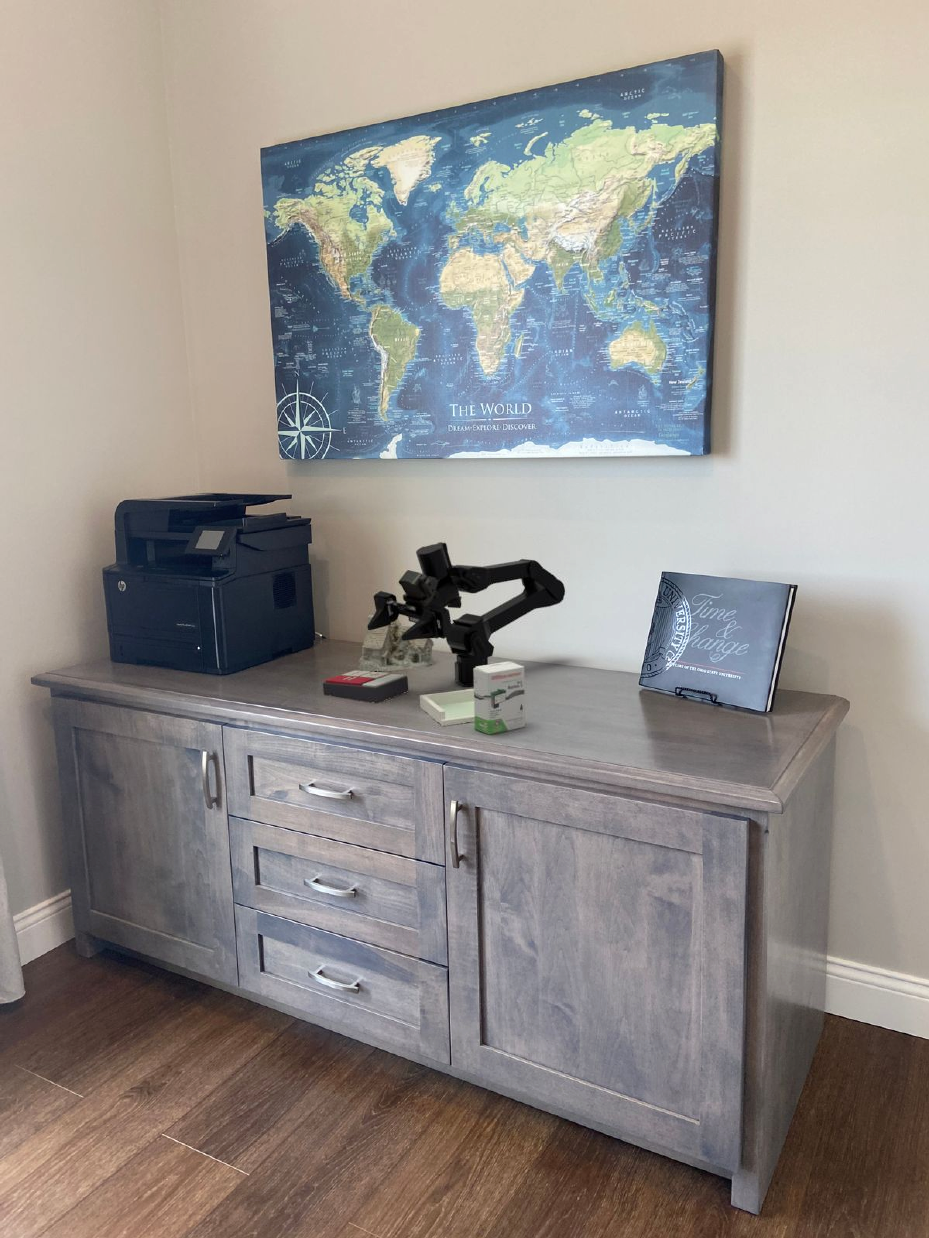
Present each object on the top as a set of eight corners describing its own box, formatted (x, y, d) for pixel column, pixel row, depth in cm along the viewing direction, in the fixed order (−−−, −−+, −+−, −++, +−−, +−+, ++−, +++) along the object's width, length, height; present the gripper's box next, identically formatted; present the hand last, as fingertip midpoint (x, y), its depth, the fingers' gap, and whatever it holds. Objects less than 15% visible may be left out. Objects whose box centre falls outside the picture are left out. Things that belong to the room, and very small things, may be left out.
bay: (480, 699, 192) (480, 687, 192) (506, 717, 180) (506, 705, 179) (420, 707, 188) (419, 695, 188) (442, 726, 175) (441, 713, 175)
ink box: (488, 735, 169) (487, 672, 167) (473, 729, 173) (471, 667, 171) (526, 726, 174) (525, 664, 171) (511, 720, 178) (509, 660, 175)
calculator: (354, 668, 209) (408, 672, 200) (356, 687, 209) (409, 692, 201) (321, 679, 200) (375, 684, 191) (323, 699, 200) (377, 704, 192)
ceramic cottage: (348, 668, 223) (349, 606, 220) (392, 656, 236) (394, 598, 233) (398, 680, 214) (401, 616, 211) (441, 667, 227) (444, 607, 224)
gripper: (394, 556, 198) (343, 588, 187) (464, 572, 187) (414, 607, 176) (403, 602, 203) (354, 635, 193) (470, 620, 192) (422, 657, 182)
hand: (385, 633), depth 186 cm, fingers open, 9 cm apart
